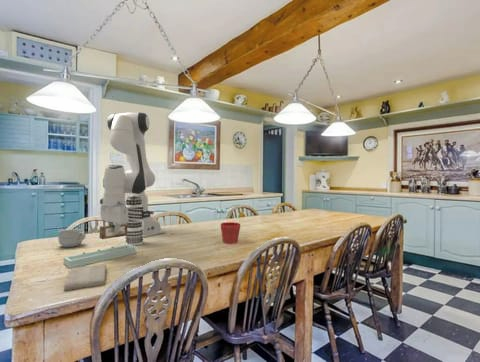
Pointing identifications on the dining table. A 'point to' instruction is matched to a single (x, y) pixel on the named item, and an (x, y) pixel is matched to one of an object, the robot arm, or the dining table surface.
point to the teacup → (71, 237)
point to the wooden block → (112, 231)
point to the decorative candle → (134, 220)
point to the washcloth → (85, 277)
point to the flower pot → (230, 232)
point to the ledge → (98, 256)
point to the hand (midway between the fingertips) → (114, 232)
